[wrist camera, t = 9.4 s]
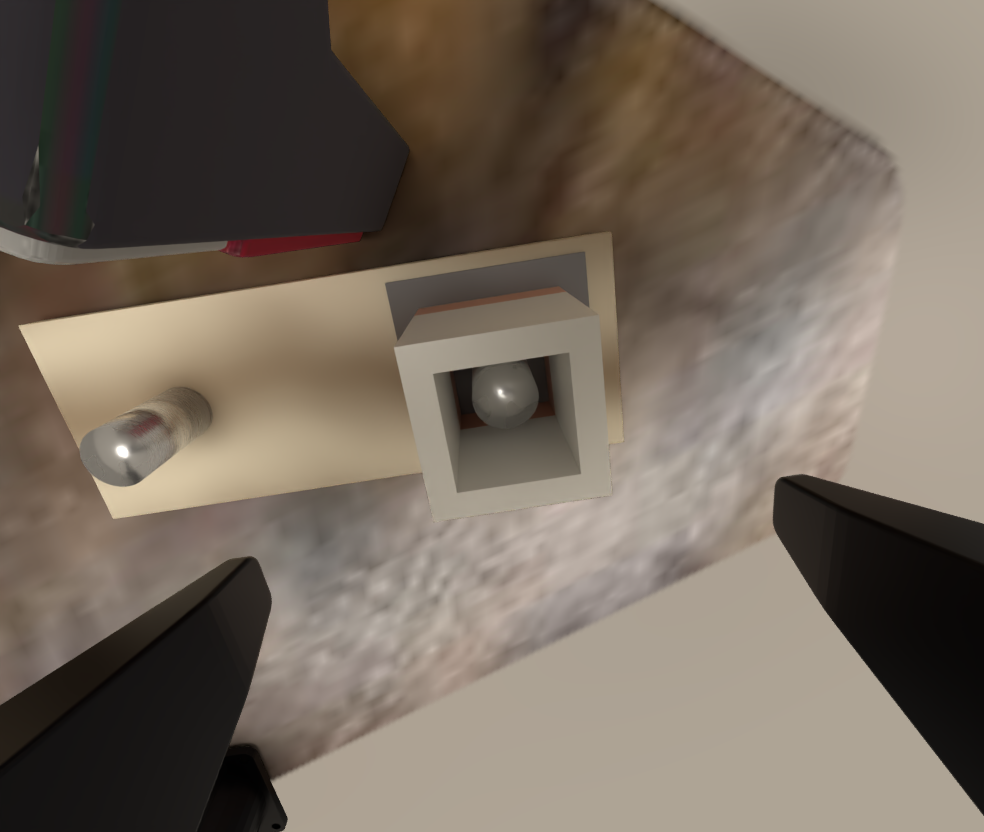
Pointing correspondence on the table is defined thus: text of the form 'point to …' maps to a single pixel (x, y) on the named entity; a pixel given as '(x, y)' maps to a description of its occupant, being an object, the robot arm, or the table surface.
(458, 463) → the sleeve
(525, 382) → the pins
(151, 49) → the upright charcoal slab
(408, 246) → the table surface
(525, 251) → the pin board
